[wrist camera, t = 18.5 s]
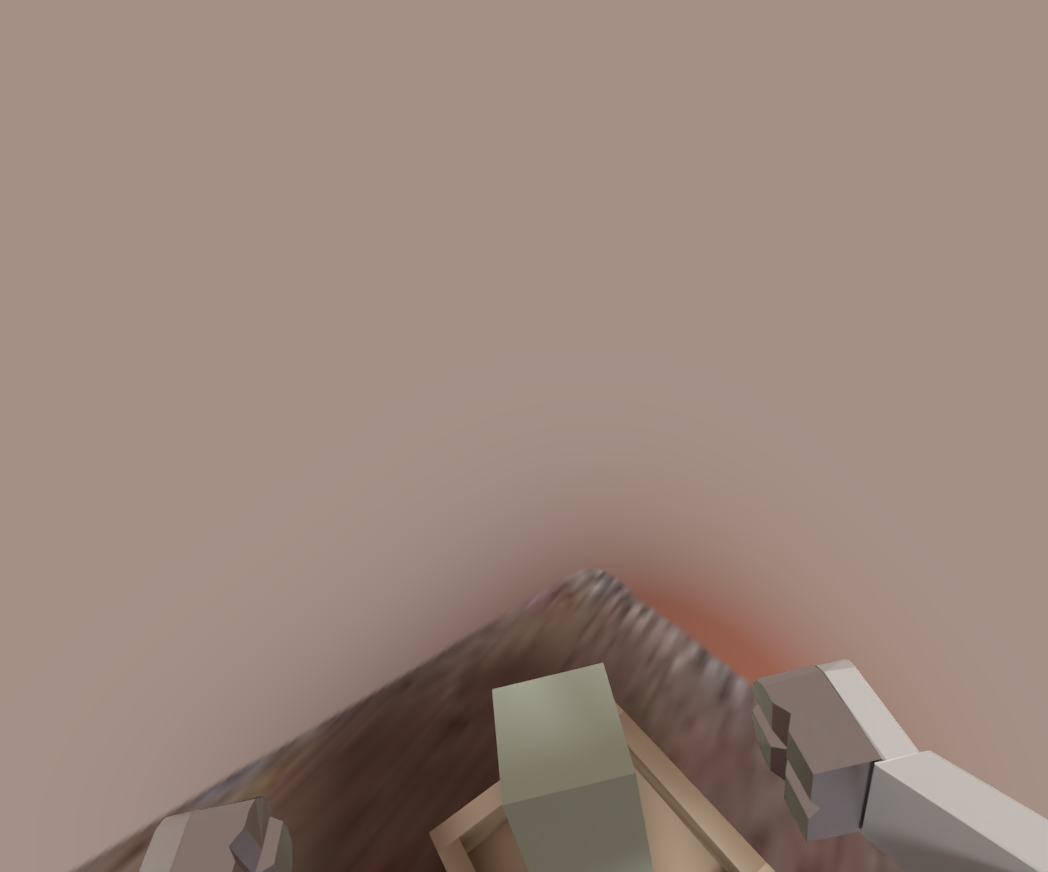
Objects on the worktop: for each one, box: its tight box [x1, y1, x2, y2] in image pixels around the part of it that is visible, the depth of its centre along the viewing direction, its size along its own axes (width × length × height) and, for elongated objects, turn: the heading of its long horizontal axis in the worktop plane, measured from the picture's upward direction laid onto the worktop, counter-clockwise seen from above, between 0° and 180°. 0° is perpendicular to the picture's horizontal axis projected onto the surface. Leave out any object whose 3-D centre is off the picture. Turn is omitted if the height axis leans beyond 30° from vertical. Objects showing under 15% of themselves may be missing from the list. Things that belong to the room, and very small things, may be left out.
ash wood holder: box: [429, 702, 775, 872], centre depth 30 cm, size 12×12×2 cm
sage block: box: [492, 663, 654, 872], centre depth 27 cm, size 5×5×12 cm
